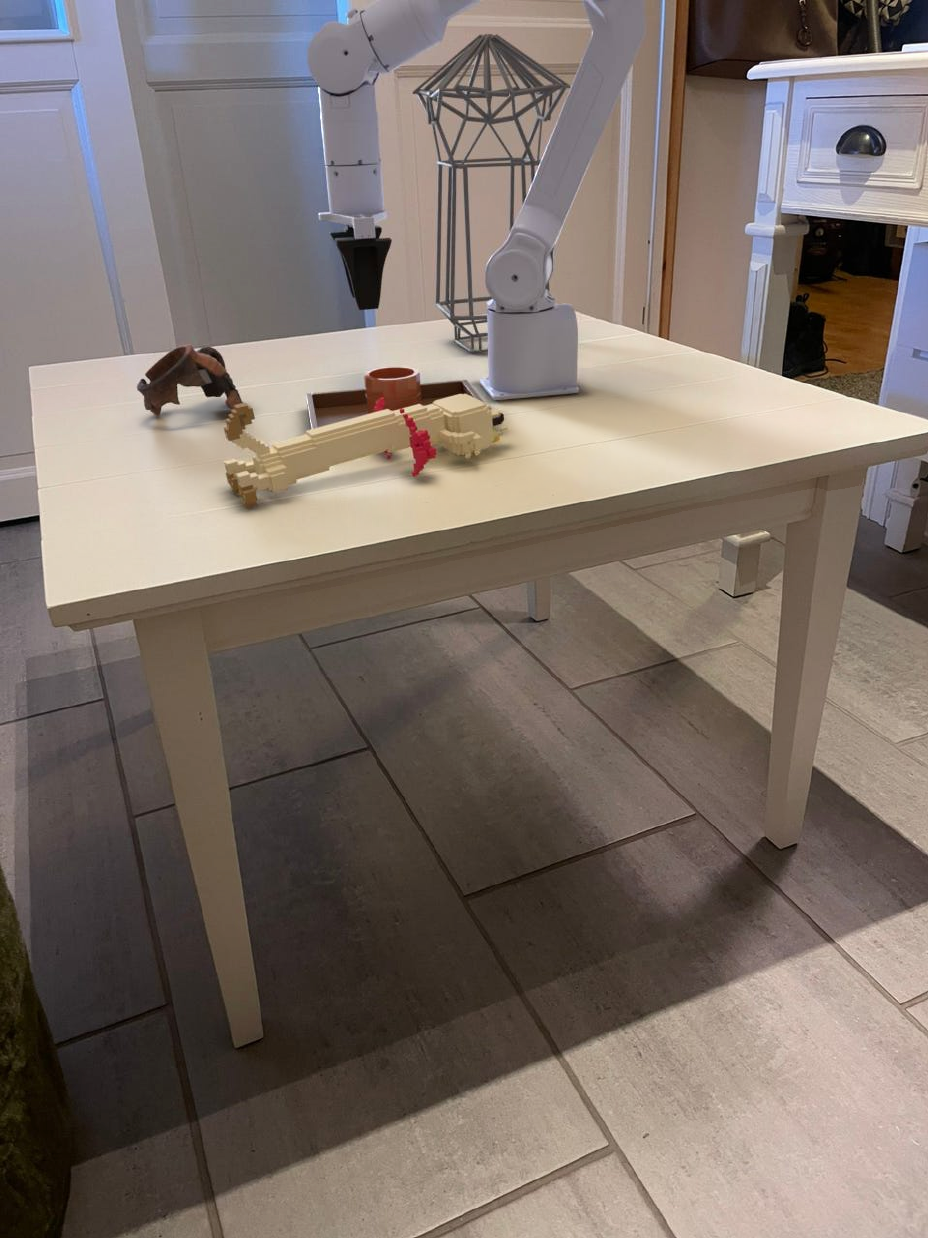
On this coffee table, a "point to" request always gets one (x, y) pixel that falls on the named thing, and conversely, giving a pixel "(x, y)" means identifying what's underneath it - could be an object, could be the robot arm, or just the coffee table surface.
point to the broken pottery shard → (187, 377)
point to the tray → (353, 404)
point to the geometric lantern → (513, 59)
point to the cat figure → (359, 441)
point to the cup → (392, 387)
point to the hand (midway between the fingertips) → (364, 302)
